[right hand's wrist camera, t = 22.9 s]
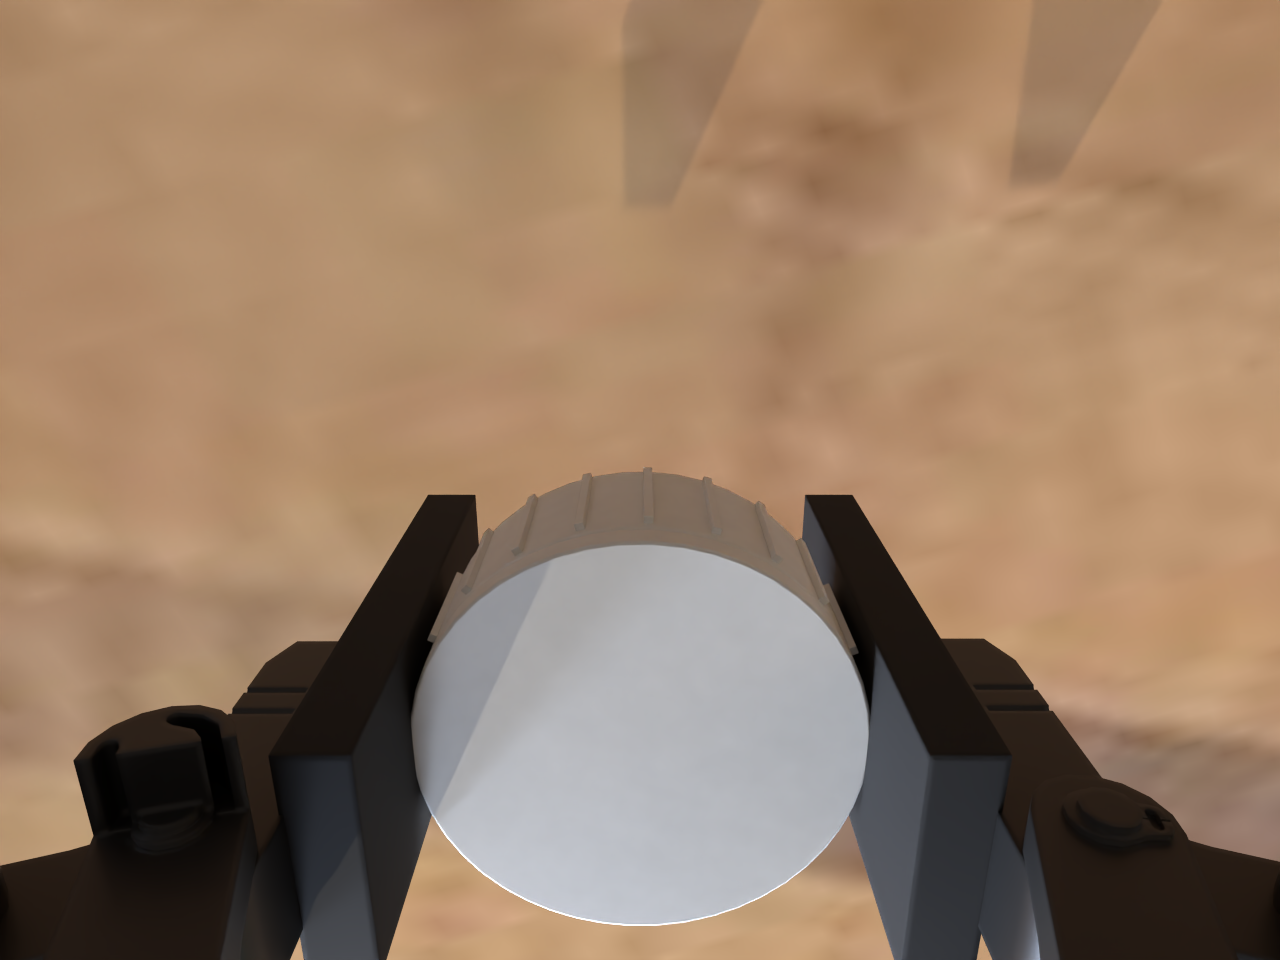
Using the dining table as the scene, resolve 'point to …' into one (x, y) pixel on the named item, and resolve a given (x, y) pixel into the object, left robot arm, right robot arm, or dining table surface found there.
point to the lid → (640, 703)
